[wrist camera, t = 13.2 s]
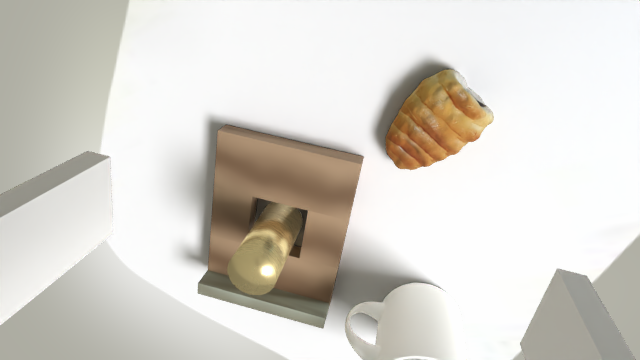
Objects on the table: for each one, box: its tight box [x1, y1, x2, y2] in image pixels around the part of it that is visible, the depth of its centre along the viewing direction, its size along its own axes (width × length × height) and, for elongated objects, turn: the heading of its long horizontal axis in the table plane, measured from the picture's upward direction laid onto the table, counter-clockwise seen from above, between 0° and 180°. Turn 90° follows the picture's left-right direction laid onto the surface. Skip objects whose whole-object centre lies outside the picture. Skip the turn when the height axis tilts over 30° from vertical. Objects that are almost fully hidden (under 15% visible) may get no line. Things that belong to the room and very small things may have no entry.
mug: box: [345, 283, 467, 360], centre depth 43 cm, size 9×12×11 cm
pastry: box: [386, 69, 494, 170], centre depth 38 cm, size 9×7×4 cm
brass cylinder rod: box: [227, 202, 303, 295], centre depth 42 cm, size 4×4×10 cm
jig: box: [198, 125, 364, 328], centre depth 45 cm, size 18×14×4 cm
